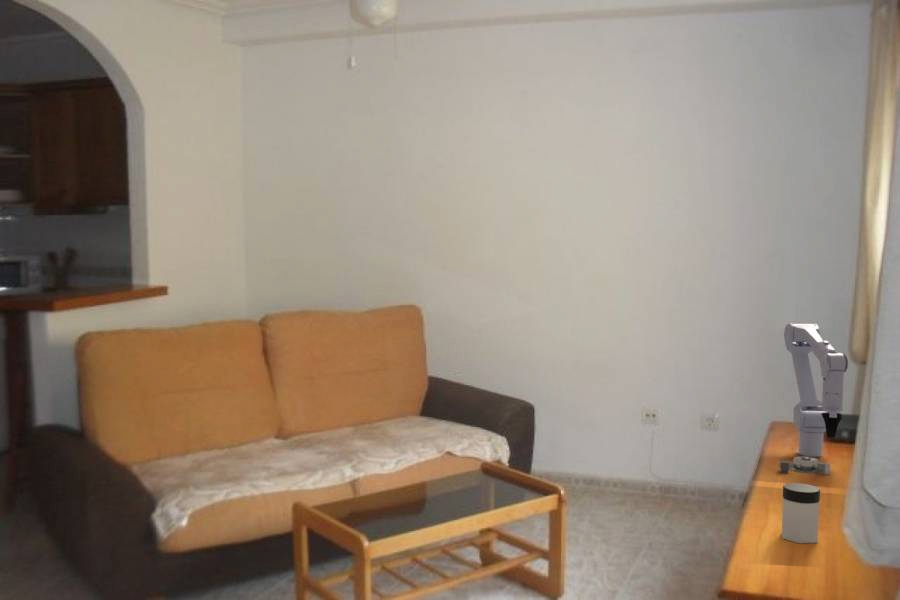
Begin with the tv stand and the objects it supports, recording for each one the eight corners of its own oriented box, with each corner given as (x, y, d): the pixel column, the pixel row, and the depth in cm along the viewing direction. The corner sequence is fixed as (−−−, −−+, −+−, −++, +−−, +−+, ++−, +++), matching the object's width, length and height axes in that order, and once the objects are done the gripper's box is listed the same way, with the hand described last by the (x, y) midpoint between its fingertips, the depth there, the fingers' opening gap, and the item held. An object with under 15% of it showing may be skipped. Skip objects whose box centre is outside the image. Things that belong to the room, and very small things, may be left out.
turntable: (803, 463, 283) (803, 451, 282) (842, 474, 270) (843, 462, 270) (772, 467, 277) (773, 455, 276) (811, 479, 264) (812, 467, 264)
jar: (826, 539, 213) (828, 488, 212) (808, 546, 208) (810, 494, 207) (791, 529, 220) (793, 480, 219) (772, 536, 215) (774, 486, 214)
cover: (804, 464, 278) (805, 453, 278) (823, 469, 272) (823, 458, 272) (788, 466, 275) (788, 455, 275) (806, 472, 269) (806, 461, 269)
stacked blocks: (779, 474, 271) (780, 460, 270) (788, 475, 270) (789, 461, 270) (779, 477, 268) (780, 462, 268) (788, 478, 267) (789, 463, 267)
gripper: (817, 388, 285) (815, 431, 286) (819, 395, 271) (817, 440, 272) (841, 389, 282) (840, 433, 283) (845, 397, 269) (843, 442, 270)
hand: (830, 437), depth 277 cm, fingers closed
